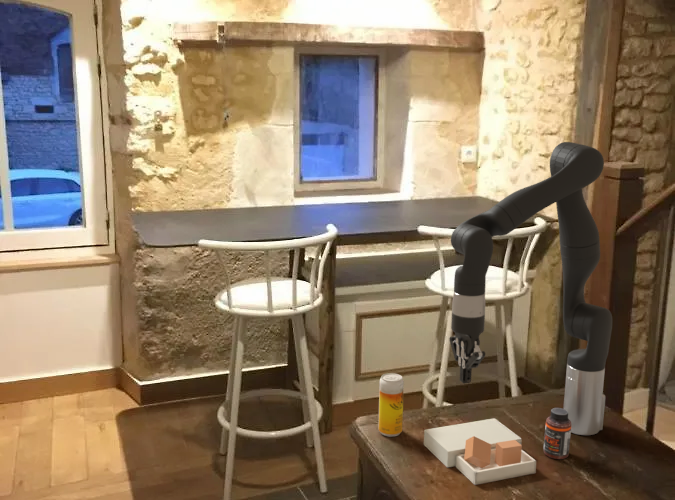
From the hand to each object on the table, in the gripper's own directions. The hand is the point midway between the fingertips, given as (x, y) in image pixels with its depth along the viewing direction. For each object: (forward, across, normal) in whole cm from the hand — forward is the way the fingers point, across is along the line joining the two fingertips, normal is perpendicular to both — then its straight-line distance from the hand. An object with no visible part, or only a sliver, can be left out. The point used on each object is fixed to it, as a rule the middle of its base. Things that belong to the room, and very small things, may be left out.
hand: (465, 381), depth 176 cm
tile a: (+16, -7, -8) cm, 19 cm away
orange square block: (+16, -6, 0) cm, 17 cm away
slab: (+19, +2, -4) cm, 19 cm away
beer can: (+19, +17, +11) cm, 28 cm away
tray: (+19, -9, -4) cm, 21 cm away
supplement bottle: (+19, -7, -22) cm, 30 cm away
